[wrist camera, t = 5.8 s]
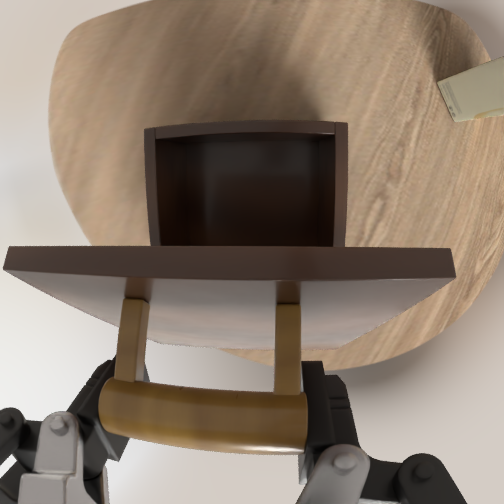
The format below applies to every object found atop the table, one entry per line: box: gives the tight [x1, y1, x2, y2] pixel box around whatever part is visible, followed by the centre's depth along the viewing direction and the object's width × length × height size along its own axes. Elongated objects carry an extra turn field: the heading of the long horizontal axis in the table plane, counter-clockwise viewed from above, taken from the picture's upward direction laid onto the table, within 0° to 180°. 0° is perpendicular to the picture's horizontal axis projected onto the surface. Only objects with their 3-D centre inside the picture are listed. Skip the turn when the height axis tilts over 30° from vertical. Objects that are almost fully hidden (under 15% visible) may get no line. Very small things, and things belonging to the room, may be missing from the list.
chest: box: [144, 120, 348, 247], centre depth 23 cm, size 15×13×8 cm
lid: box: [3, 246, 456, 455], centre depth 13 cm, size 15×13×5 cm
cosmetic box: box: [437, 56, 504, 122], centre depth 15 cm, size 6×4×12 cm
